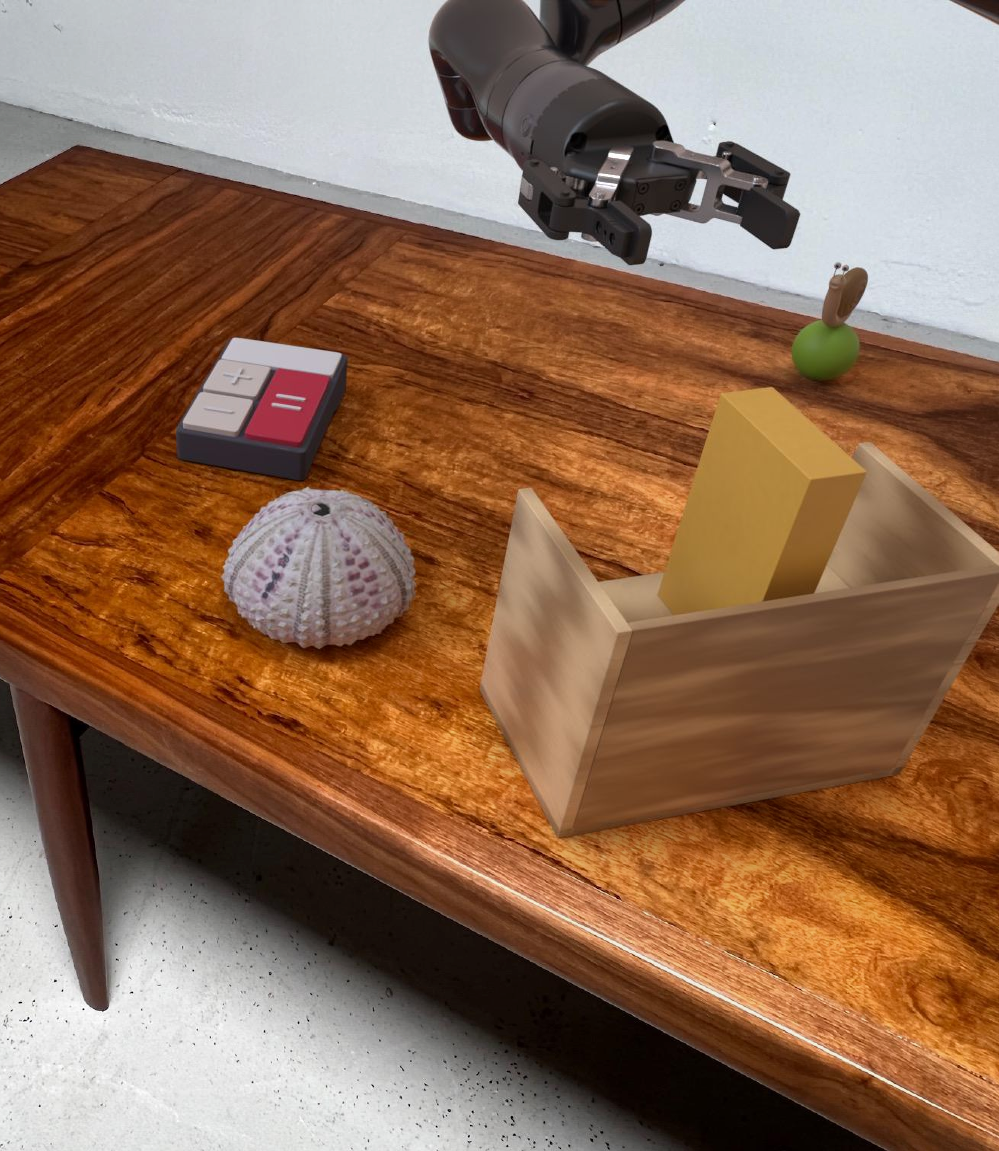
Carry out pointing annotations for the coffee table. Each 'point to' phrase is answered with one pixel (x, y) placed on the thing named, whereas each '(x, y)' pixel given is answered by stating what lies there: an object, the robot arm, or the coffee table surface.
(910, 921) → the coffee table surface
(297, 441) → the calculator
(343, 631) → the sea urchin shell
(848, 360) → the snail figurine
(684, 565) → the mustard yellow pillar block
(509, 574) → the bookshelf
